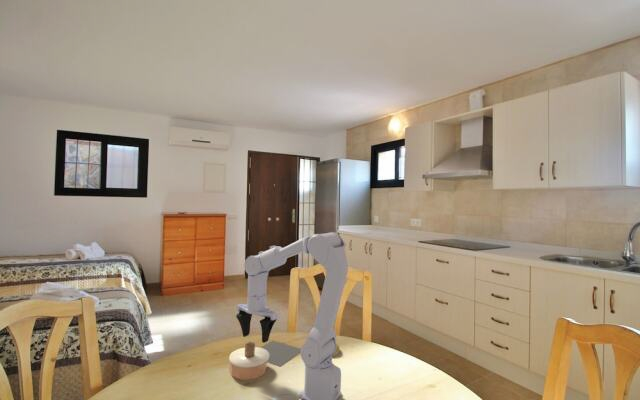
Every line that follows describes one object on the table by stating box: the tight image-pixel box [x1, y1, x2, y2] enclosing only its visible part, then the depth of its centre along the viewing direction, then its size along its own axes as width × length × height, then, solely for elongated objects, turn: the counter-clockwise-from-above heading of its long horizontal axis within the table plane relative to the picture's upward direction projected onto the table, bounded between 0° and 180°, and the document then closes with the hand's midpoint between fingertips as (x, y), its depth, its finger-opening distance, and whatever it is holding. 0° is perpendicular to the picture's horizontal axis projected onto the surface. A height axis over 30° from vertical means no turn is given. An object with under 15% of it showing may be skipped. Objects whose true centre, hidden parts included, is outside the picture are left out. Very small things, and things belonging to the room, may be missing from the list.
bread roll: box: [332, 343, 341, 357], centre depth 115 cm, size 8×9×4 cm
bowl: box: [228, 361, 268, 381], centre depth 100 cm, size 11×11×4 cm
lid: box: [228, 341, 269, 367], centre depth 100 cm, size 12×12×4 cm
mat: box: [259, 340, 301, 368], centre depth 112 cm, size 14×14×1 cm
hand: (255, 338), depth 100 cm, fingers open, 7 cm apart
